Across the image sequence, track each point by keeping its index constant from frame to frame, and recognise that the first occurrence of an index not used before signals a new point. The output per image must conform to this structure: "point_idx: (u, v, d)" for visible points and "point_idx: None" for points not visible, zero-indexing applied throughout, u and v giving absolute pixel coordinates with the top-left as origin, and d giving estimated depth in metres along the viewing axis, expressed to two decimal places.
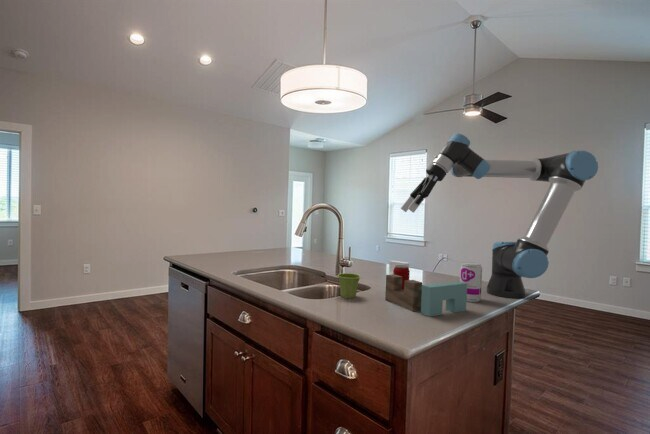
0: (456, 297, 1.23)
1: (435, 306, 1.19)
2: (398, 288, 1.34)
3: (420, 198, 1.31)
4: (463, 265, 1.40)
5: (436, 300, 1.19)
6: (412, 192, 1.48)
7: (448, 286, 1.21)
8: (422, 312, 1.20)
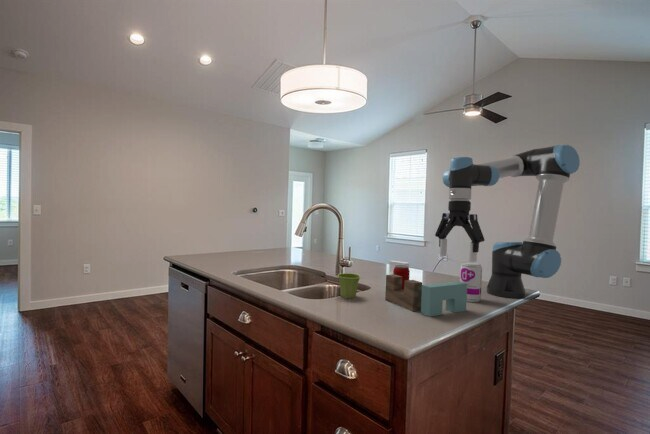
0: (456, 297, 1.23)
1: (435, 306, 1.19)
2: (398, 288, 1.34)
3: (477, 245, 1.18)
4: (463, 265, 1.40)
5: (436, 300, 1.19)
6: (438, 233, 1.33)
7: (448, 286, 1.21)
8: (422, 312, 1.20)
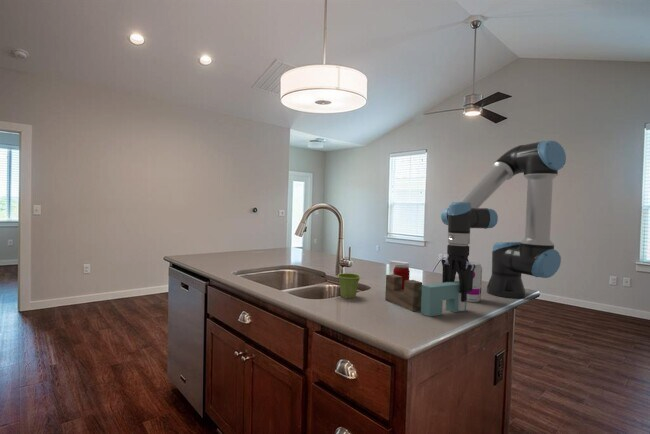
0: (456, 297, 1.23)
1: (435, 306, 1.19)
2: (398, 288, 1.34)
3: (464, 295, 1.23)
4: None
5: (436, 300, 1.19)
6: (444, 281, 1.30)
7: (448, 286, 1.21)
8: (422, 312, 1.20)
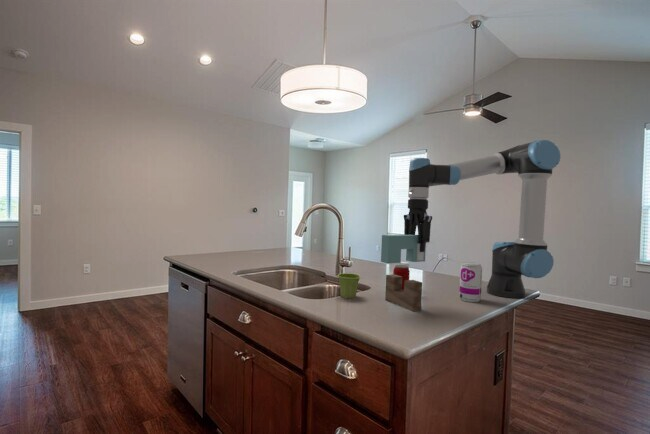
0: (415, 247, 1.31)
1: (393, 254, 1.26)
2: (398, 288, 1.34)
3: (423, 245, 1.30)
4: (463, 265, 1.40)
5: (394, 248, 1.26)
6: None
7: (407, 236, 1.29)
8: (382, 260, 1.28)
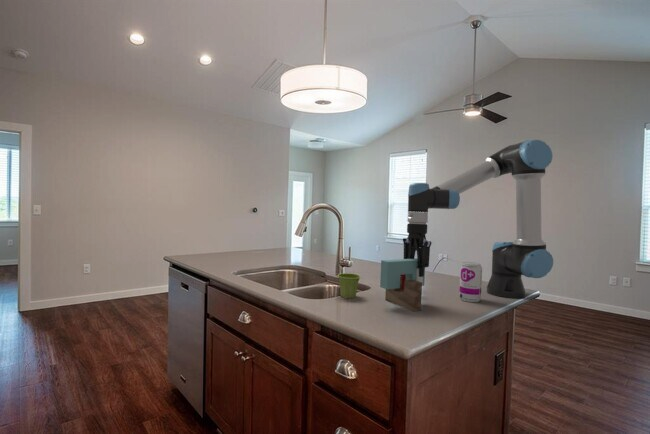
0: (414, 272, 1.31)
1: (393, 279, 1.26)
2: (398, 288, 1.34)
3: (422, 270, 1.30)
4: (463, 265, 1.40)
5: (394, 274, 1.26)
6: (405, 258, 1.37)
7: (406, 261, 1.29)
8: (381, 286, 1.28)
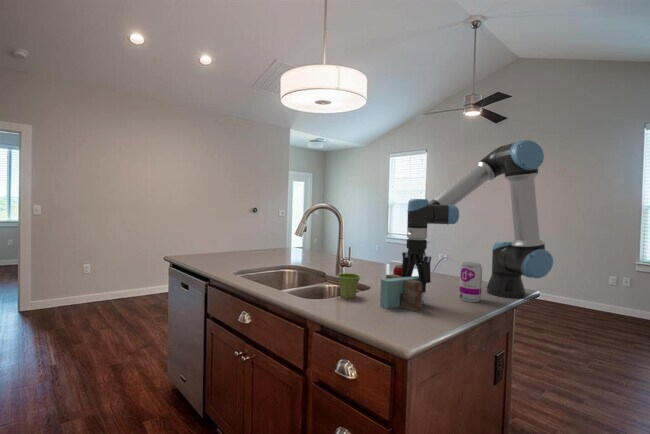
0: None
1: (393, 298, 1.26)
2: None
3: (424, 286, 1.29)
4: (463, 265, 1.40)
5: (394, 293, 1.27)
6: (403, 273, 1.38)
7: None
8: (381, 305, 1.28)
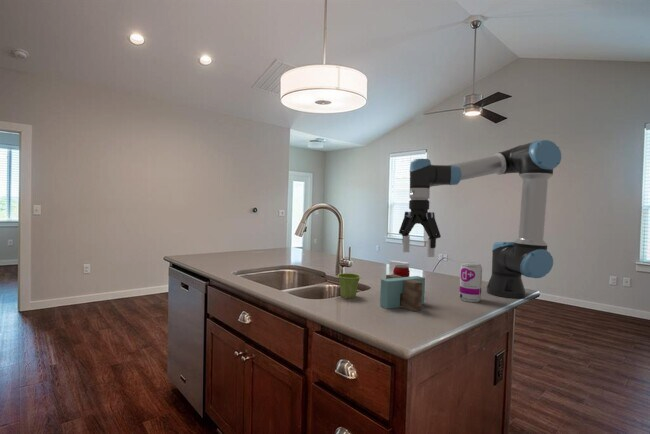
0: None
1: (393, 298, 1.26)
2: None
3: (434, 241, 1.26)
4: (463, 265, 1.40)
5: (394, 293, 1.27)
6: (401, 230, 1.41)
7: None
8: (381, 305, 1.28)
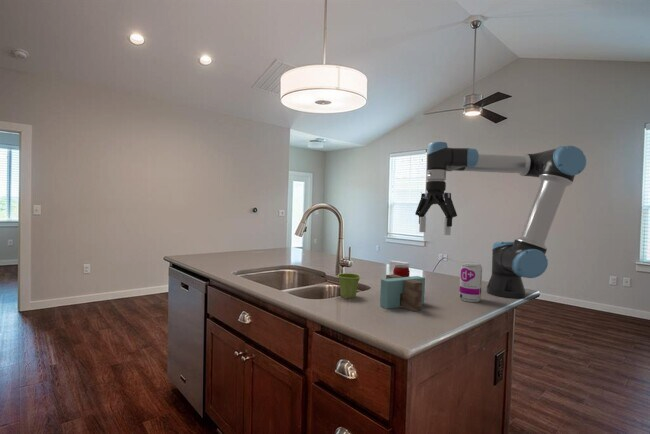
0: None
1: (393, 298, 1.26)
2: None
3: (450, 220, 1.33)
4: (463, 265, 1.40)
5: (394, 293, 1.27)
6: (417, 211, 1.47)
7: None
8: (381, 305, 1.28)
